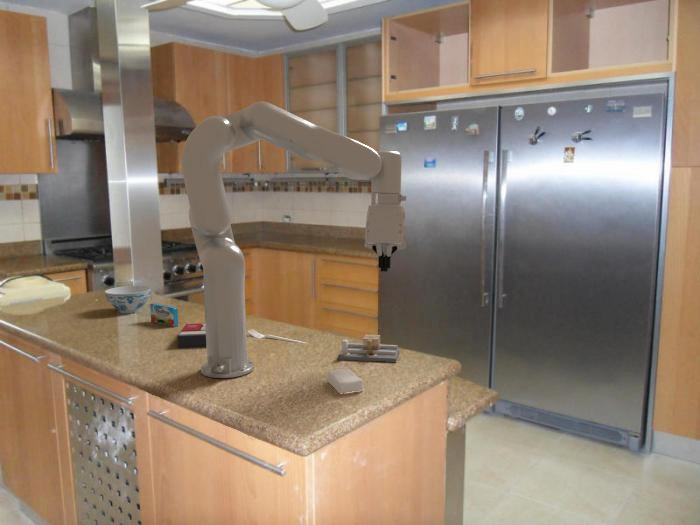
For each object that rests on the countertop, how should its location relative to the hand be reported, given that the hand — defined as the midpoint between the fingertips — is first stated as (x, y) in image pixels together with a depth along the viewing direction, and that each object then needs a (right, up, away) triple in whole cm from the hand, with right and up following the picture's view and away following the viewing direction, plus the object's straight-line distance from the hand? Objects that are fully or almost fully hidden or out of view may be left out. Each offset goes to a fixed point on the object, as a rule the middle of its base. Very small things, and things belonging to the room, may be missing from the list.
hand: (384, 270), depth 152 cm
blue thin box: (-68, -18, +35) cm, 79 cm away
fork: (-30, -21, +17) cm, 40 cm away
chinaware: (-87, -15, +53) cm, 103 cm away
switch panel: (-4, -22, +1) cm, 23 cm away
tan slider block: (-3, -21, +1) cm, 21 cm away
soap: (-10, -26, -21) cm, 35 cm away
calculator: (-52, -21, +17) cm, 59 cm away
